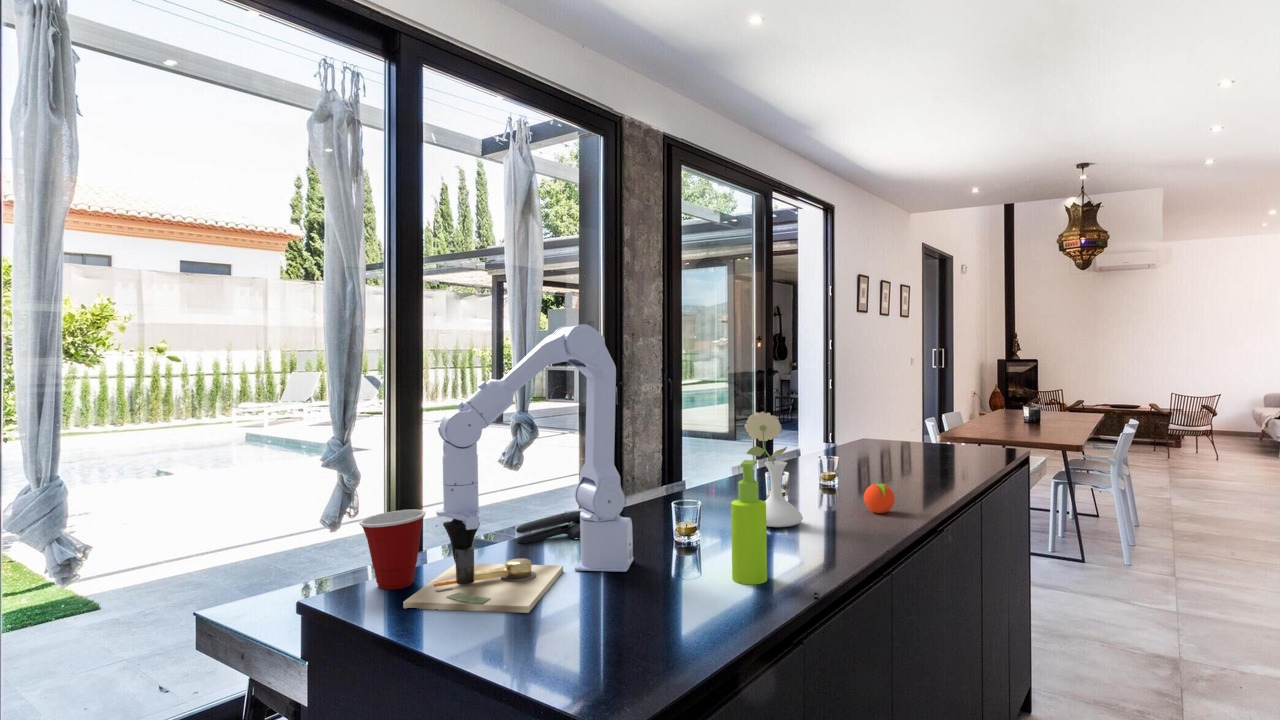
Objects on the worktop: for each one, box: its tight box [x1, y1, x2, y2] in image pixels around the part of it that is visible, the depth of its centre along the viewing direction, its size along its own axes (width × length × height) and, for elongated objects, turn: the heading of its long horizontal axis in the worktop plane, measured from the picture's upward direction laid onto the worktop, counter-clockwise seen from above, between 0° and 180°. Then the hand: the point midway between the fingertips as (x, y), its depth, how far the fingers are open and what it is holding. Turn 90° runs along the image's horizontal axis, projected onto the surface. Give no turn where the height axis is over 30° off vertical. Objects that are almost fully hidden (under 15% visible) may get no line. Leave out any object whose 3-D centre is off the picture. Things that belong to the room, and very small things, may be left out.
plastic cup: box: [358, 509, 426, 591], centre depth 127 cm, size 11×11×12 cm
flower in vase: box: [744, 411, 804, 528], centre depth 165 cm, size 13×11×25 cm
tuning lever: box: [433, 545, 532, 587], centre depth 124 cm, size 16×4×6 cm, turn 115°
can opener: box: [515, 510, 581, 544], centre depth 157 cm, size 18×7×6 cm, turn 114°
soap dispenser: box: [730, 459, 768, 586], centre depth 127 cm, size 6×7×20 cm
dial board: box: [402, 562, 564, 614], centre depth 124 cm, size 20×21×1 cm
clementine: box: [863, 482, 896, 514], centre depth 174 cm, size 8×7×7 cm
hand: (462, 563), depth 125 cm, fingers closed
